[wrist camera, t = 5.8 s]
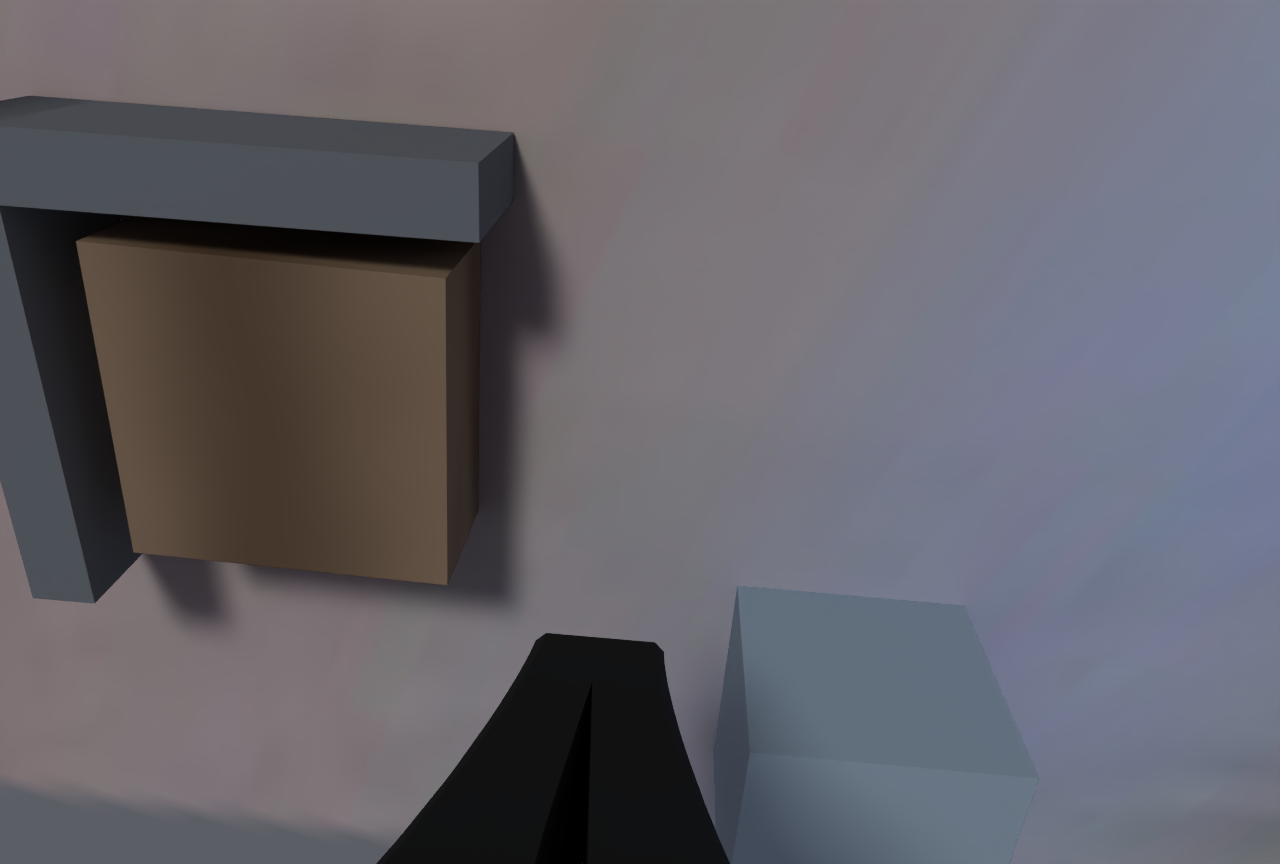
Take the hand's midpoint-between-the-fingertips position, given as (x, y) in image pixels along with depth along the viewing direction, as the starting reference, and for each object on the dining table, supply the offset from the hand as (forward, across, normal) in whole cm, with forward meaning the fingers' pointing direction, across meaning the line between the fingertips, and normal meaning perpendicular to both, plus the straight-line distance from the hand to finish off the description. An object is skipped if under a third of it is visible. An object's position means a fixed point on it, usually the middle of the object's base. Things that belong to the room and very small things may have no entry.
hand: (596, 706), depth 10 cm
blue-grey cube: (+9, -5, +7) cm, 12 cm away
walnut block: (+9, +6, 0) cm, 11 cm away
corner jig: (+9, +6, 0) cm, 11 cm away
